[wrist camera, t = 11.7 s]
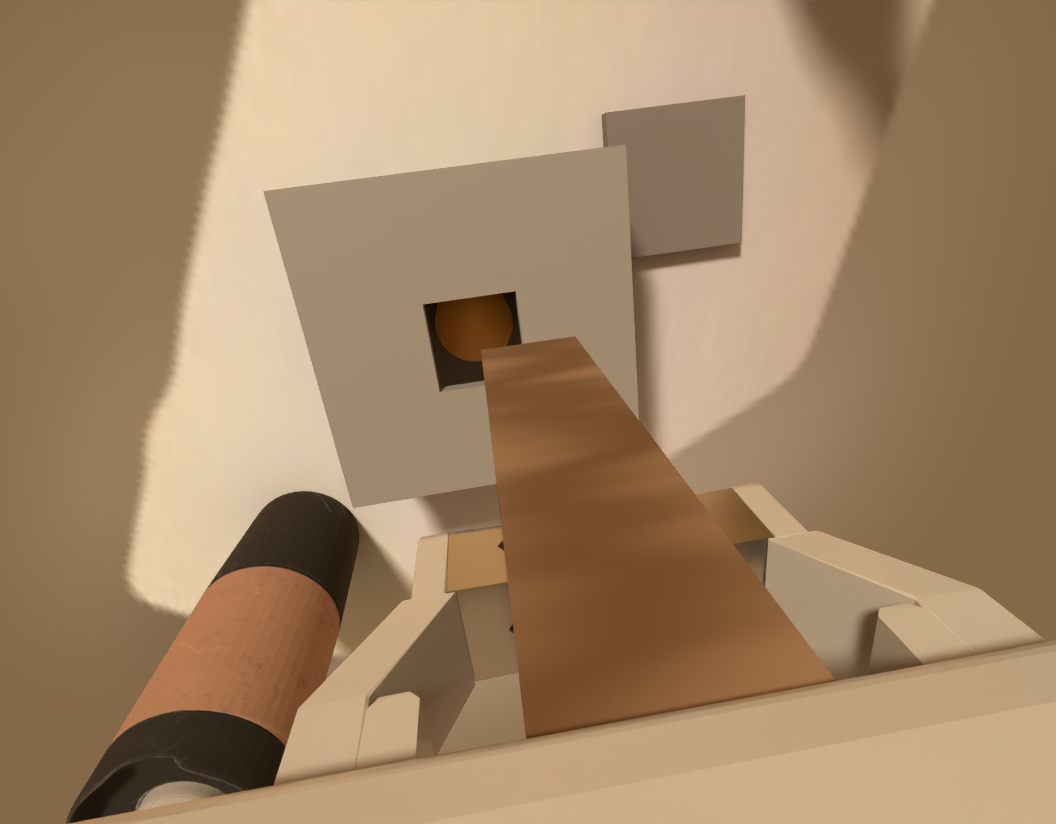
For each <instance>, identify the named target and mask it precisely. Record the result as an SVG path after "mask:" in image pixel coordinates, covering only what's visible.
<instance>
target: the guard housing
mask: <svg viewBox="0 0 1056 824" xmlns="http://www.w3.org/2000/svg"><path fill="white" fill-rule="evenodd" d="M264 195H265V199H266V202H267V206H268V209H269V213H270V216H271V220H272V223H273V227H274V230H275V234H276V237H277V241H278V244H279V248H280V252H281V255H282V259H283V262H284V266H285V269H286V273H287V276H288V280H289V283H290V287H291V290H292V294H293V297H294V301H295V305H296V308H297V312H298V315H299V319H300V322H301V326H302V329H303V333H304V336H305V340H306V343H307V347H308V350H309V354H310V358H311V361H312V365H313V368H314V372H315V375H316V379H317V382H318V386H319V389H320V393H321V396H322V400H323V403H324V407H325V411H326V414H327V418H328V421H329V425H330V428H331V432H332V435H333V439H334V442H335V446H336V449H337V453H338V456H339V460H340V464H341V467H342V471H343V474H344V478H345V481H346V485H347V488H348V492H349V495H350V499H351V502H352V506H353V508H355V507H361V506H367V505H373V504H379V503H385V502H391V501H397V500H403V499H409V498H415V497H421V496H427V495H433V494H439V493H445V492H452V491H458V490H464V489H470V488H476V487H482V486H488V485H494V484H496V475H495V467H494V458H493V450H492V441H491V433H490V424H489V415H488V407H487V398H486V390H485V381H478V382H472V383H465V384H459V385H452V386H446V387H440V384H439V379H438V373H437V368H436V363H435V358H434V353H433V348H432V343H431V337H430V332H429V327H428V322H427V317H426V312H425V306H424V304H430V303H437V302H444V301H451V300H458V299H465V298H472V297H479V296H486V295H492V294H499V293H506V292H513V291H515V298H516V306H517V313H518V321H519V329H520V336H521V344H525V343H532V342H539V341H546V340H553V339H560V338H566V337H573V336H575V337H576V338H577V339H578V341H579V342H580V343H581V345H582V346H583V347H584V349H585V350H586V351H587V353H588V354H589V355H590V357H591V358H592V359H593V361H594V362H595V363H596V364H597V366H598V367H599V368H600V370H601V371H602V372H603V374H604V375H605V376H606V378H607V379H608V380H609V382H610V383H611V384H612V386H613V387H614V388H615V390H616V391H617V392H618V394H619V395H620V396H621V397H622V399H623V400H624V401H625V403H626V404H627V405H628V407H629V408H630V409H631V411H632V412H633V413H634V415H635V416H636V417H637V419H638V420H639V406H638V385H637V365H636V344H635V323H634V303H633V282H632V261H631V241H630V220H629V199H628V179H627V158H626V145H620V146H612V147H604V148H596V149H589V150H581V151H573V152H565V153H557V154H550V155H542V156H534V157H526V158H519V159H511V160H503V161H495V162H487V163H480V164H472V165H464V166H456V167H448V168H441V169H433V170H425V171H417V172H410V173H402V174H394V175H386V176H378V177H371V178H363V179H355V180H347V181H339V182H332V183H324V184H316V185H308V186H301V187H293V188H285V189H277V190H269V191H264Z"/></svg>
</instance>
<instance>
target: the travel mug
mask: <svg viewBox="0 0 1056 824" xmlns="http://www.w3.org/2000/svg"><path fill="white" fill-rule="evenodd" d="M358 544H359V531H358V526H357V523H356V521H355V519H354V517H353V516H352V514H351V513H350V511H349V510H348V509H347V508H346V507H345V506H344V505H342V504H341V503H340V502H338V501H337V500H335V499H333V498H331V497H329V496H326V495H324V494H320V493H316V492H306V491H301V492H293V493H288V494H285V495H282V496H280V497H278V498H276V499H274V500H273V501H271V502H270V503H269V504H268V505H266V506H265V507H264V509H263V510H262V511H261V512H260V513H259V515H258V516H257V517H256V519H255V520H254V521H253V523H252V524H251V526H250V527H249V529H248V530H247V531H246V533H245V534H244V536H243V537H242V539H241V540H240V542H239V543H238V544H237V546H236V547H235V549H234V550H233V552H232V553H231V555H230V556H229V557H228V559H227V560H226V562H225V563H224V565H223V566H222V568H221V569H220V570H219V572H218V573H217V575H216V576H215V578H214V579H213V580H212V582H211V583H210V585H209V586H208V588H207V589H206V591H205V592H204V594H203V595H202V597H201V598H200V600H199V602H198V603H197V605H196V607H195V608H194V610H193V611H192V613H191V615H190V616H189V618H188V620H187V621H186V623H185V624H184V626H183V628H182V629H181V631H180V632H179V634H178V636H177V637H176V639H175V641H174V642H173V644H172V645H171V647H170V649H169V651H168V652H167V654H166V655H165V657H164V658H163V660H162V662H161V663H160V665H159V667H158V668H157V670H156V671H155V673H154V675H153V676H152V678H151V679H150V681H149V683H148V684H147V686H146V688H145V689H144V691H143V693H142V694H141V696H140V697H139V699H138V701H137V702H136V704H135V705H134V707H133V709H132V710H131V712H130V714H129V715H128V717H127V718H126V720H125V722H124V723H123V725H122V727H121V728H120V730H119V731H118V733H117V735H116V736H115V738H114V739H113V741H112V743H111V744H110V746H109V748H108V749H107V751H106V753H105V754H104V756H103V757H102V759H101V760H100V762H99V764H98V765H97V767H96V769H95V770H94V772H93V773H92V775H91V777H90V778H89V780H88V782H87V783H86V785H85V787H84V788H83V790H82V791H81V793H80V795H79V796H78V798H77V799H76V801H75V803H74V805H73V806H72V808H71V811H70V813H69V816H68V818H67V821H66V824H68V823H74V822H79V821H85V820H90V819H95V818H101V817H106V816H112V815H117V814H123V813H128V812H133V811H139V810H144V809H150V808H155V807H161V806H166V805H171V804H177V803H182V802H188V801H193V800H198V799H204V798H209V797H215V796H220V795H225V794H231V793H236V792H242V791H247V790H252V789H258V788H263V787H269V786H274V782H275V779H276V776H277V773H278V770H279V767H280V764H281V760H282V757H283V754H284V751H285V748H286V745H287V742H288V739H289V735H290V732H291V729H292V726H293V723H294V720H295V717H296V713H297V710H298V708H299V707H300V706H301V705H302V704H303V703H304V702H305V701H306V700H307V699H308V698H309V697H310V696H311V695H312V694H313V693H314V692H315V691H316V690H317V689H318V688H319V687H320V686H321V684H322V683H323V682H324V681H325V679H326V676H327V672H328V669H329V665H330V662H331V658H332V655H333V651H334V648H335V644H336V641H337V637H338V634H339V629H340V625H341V621H342V617H343V612H344V608H345V603H346V599H347V595H348V590H349V586H350V581H351V577H352V572H353V568H354V564H355V559H356V554H357V550H358Z"/></svg>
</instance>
